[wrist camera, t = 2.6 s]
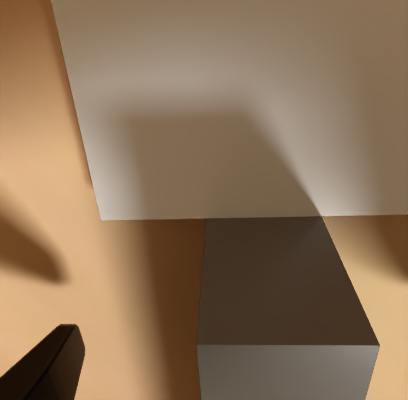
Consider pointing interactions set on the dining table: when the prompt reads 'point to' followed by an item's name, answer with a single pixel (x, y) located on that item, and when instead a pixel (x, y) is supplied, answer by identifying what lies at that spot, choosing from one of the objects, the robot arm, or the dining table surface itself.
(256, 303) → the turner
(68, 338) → the robot arm
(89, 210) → the dining table surface
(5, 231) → the dining table surface
